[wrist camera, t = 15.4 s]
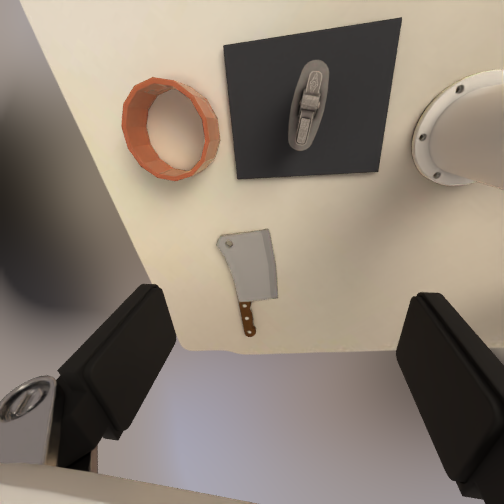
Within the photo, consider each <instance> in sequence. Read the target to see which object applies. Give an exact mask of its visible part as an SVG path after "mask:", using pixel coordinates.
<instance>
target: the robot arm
mask: <svg viewBox="0 0 504 504" xmlns="http://www.w3.org/2000/svg"><path fill="white" fill-rule="evenodd" d="M456 88H457V89H458V90H457V92H456ZM420 135H421V136H422V137H421V139H419V137H420ZM412 155H413V160H414V163H415V165H416V167H417V169H418V170H419V171H420V173H421V174H422V175H424V176H425V177H426V178H427V179H429V180H431V181H433V182H436V183H439V184H442V185H448V186H462V185H467V184H472V183H475V182H480V183H483V184H486V185H490V186H493V187H496V188H499V189H503V190H504V70H489V71H484V72H480V73H476V74H473V75H470V76H468V77H465V78H463V79H461V80H459V81H457V82H455V83H454V84H452V85H451V86H450V87H448V88H447V89H445V90H444V91H443V92H442V93H441V94H439V95H438V96H437V97H436V98H435V99H434V100H433V101H432V103H431V104H430V105H429V106H428V107H427V108H426V110H425V112H424V113H423V115H422V116H421V118H420V120H419V122H418V124H417V126H416V129H415V132H414V136H413V140H412ZM434 174H435V175H434ZM433 175H434V176H433ZM175 342H176V333H175V330H174V326H173V323H172V320H171V317H170V313H169V310H168V307H167V304H166V300H165V297H164V294H163V291H162V289H161V288H159V287H158V285H156V284H142V285H140V286H139V287H138V288H137V289H136V290H135V291H134V292H133V293H132V294H131V295H130V296H129V297H128V298H127V299H126V300H125V301H124V303H122V305H120V307H119V308H118V309H117V310H116V311H115V312H114V313H113V314H112V315H111V316H110V317H109V318H108V319H107V320H106V321H105V322H104V323H103V324H102V325H101V326H100V327H99V328H98V329H97V330H96V331H95V332H94V334H92V335H91V336H90V338H89V339H88V340H87V341H86V342H85V343H84V344H83V345H82V346H81V347H80V348H79V349H78V350H77V351H76V352H75V353H74V354H73V355H72V356H71V357H70V358H69V359H68V360H67V361H66V362H65V363H64V364H63V365H62V366H61V367H60V368H59V369H58V372H59V374H60V377H59V378H58V379H57V380H55V379H54V378H53V377H51V376H39V377H36V378H33V379H31V380H28V381H27V382H25V383H23V384H21V385H19V386H18V387H16V388H15V389H14V390H12V391H11V392H10V393H9V394H7V395H6V396H5V397H4V398H3V399H2V400H1V401H0V504H257V503H252V502H246V501H241V500H236V499H231V498H226V497H220V496H215V495H210V494H205V493H199V492H194V491H189V490H184V489H178V488H173V487H167V486H162V485H157V484H151V483H146V482H141V481H135V480H130V479H124V478H119V477H114V476H109V475H103V474H98V450H97V449H98V446H97V445H98V443H99V441H100V440H101V438H102V437H103V438H105V439H112V440H119V438H120V436H121V434H122V433H123V431H124V430H126V429H128V428H129V426H130V425H131V423H132V421H133V419H134V417H135V416H136V414H137V412H138V410H139V408H140V407H141V405H142V403H143V401H144V399H145V398H146V396H147V394H148V392H149V390H150V388H151V387H152V385H153V383H154V381H155V379H156V378H157V376H158V374H159V372H160V370H161V368H162V367H163V365H164V363H165V361H166V359H167V357H168V356H169V354H170V352H171V350H172V348H173V347H174V345H175ZM396 356H397V361H398V364H399V366H400V368H401V370H402V372H403V375H404V377H405V380H406V382H407V384H408V387H409V389H410V391H411V393H412V396H413V398H414V400H415V402H416V405H417V407H418V409H419V412H420V414H421V416H422V419H423V421H424V423H425V426H426V428H427V430H428V432H429V435H430V437H431V439H432V442H433V444H434V446H435V449H436V451H437V453H438V455H439V457H440V460H441V462H442V464H443V467H444V469H445V471H446V473H447V475H448V477H449V478H450V479H451V480H453V481H456V483H457V485H458V487H459V490H460V492H461V494H462V496H465V497H471V498H477V499H483V500H484V502H485V504H504V365H503V364H502V363H501V362H500V361H499V359H498V358H497V357H496V356H495V355H494V354H493V353H492V351H491V350H490V349H489V348H488V347H487V346H486V344H485V343H484V342H483V341H482V340H481V339H480V338H479V336H478V335H477V334H476V333H475V332H474V331H473V330H472V328H471V327H470V326H469V325H468V324H467V323H466V322H465V320H464V319H463V318H462V317H461V316H460V315H459V313H458V312H457V311H456V310H455V309H454V308H453V307H452V305H451V304H450V303H449V302H448V301H447V300H446V299H445V297H444V296H443V295H442V294H440V293H425V292H420V293H418V294H417V296H414V297H412V298H411V301H410V304H409V308H408V311H407V315H406V318H405V322H404V325H403V329H402V332H401V336H400V339H399V343H398V346H397V350H396Z"/></svg>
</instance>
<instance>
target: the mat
mask: <svg viewBox="0 0 504 504" xmlns="http://www.w3.org/2000/svg"><path fill="white" fill-rule="evenodd" d="M401 22H402V18H395V19H389V20H382V21H376V22H370V23H363V24H357V25H351V26H344V27H338V28H331V29H325V30H319V31H312V32H306V33H300V34H293V35H287V36H280V37H274V38H268V39H261V40H255V41H249V42H242V43H236V44H229V45H224V46H223V47H224V57H225V66H226V76H227V85H228V95H229V104H230V114H231V123H232V133H233V142H234V152H235V161H236V171H237V179H254V178H272V177H291V176H310V175H329V174H348V173H367V172H378V169H379V163H380V156H381V150H382V144H383V137H384V131H385V124H386V118H387V112H388V105H389V99H390V92H391V86H392V79H393V73H394V67H395V60H396V54H397V47H398V41H399V35H400V28H401ZM312 60H321V61H323V62H324V63H325V64H327V66H328V69H329V81H328V92H327V98H326V103H325V108H324V112H323V116H322V119H321V122H320V125H319V128H318V130H317V133H316V135H315V137H314V140H313V142H312V144H311V145H310V147H309V148H307V149H306V150H303V151H297V150H295V149H293V148H292V147H291V146H290V144H289V141H288V131H289V118H290V111H291V105H292V101H293V97H294V93H295V89H296V86H297V83H298V81H299V78H300V75H301V73H302V70H303V68H304V66H305V65H306V64H307V63H308V62H310V61H312Z"/></svg>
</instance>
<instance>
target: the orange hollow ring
mask: <svg viewBox="0 0 504 504" xmlns="http://www.w3.org/2000/svg"><path fill="white" fill-rule="evenodd" d="M171 89H176V90H179V91H180V92H181V93H183V94H184V95H185V96H187V97H188V98H189V99H190V100H191V101H192V103H193V105H194V106H195V108H196V110H197V112H198V113H199V115H200V117H201V119H202V123H203V129H204V136H205V144H204V148H203V152H202V156H201V159H200V161H199V162H198V163H197V164H196V165H195V166H194V167H193V169H192V170H190V171H185V170H180V169H175V168H172V167H171V166H170V165H168V164H167V163H165V162H164V161H162V160H161V159H160V158H159V156H158V155H157V153H156V152H155V150H154V149H153V147H152V146H151V144H150V140H149V136H148V132H147V128H146V124H147V117H148V109H149V108H150V106H151V105H152V103H153V102H154V100H155V99H156V97H157V96H158V95H160V94H162V93H164V92H166V91H168V90H171ZM122 130H123V133H124V137H125V140H126V143H127V147H128V149H129V151H130V152H131V153H132V155H133V156H134V158H135V159H136V160H137V162H138V163H139V165H140V166H141V167H142V168H144V169H145V170H147V171H148V172H150V173H151V174H153V175H154V176H156V177H157V178H161V179H166V180H172V181H178V180H181V179H184V178H187V177H190V176H193V175H195V174H197V173H199V172H201V171H203V170H204V169H205V168H206V167H207V166H208V165H209V164H210V163H211V162H212V161H213V160H214V158H215V157H216V153H217V149H218V146H219V142H220V134H219V126H218V119H217V117H216V115H215V113H214V111H213V109H212V108H211V106H210V104H209V102H208V100H207V99H206V98H205V97H203V96H202V95H201V94H199V93H198V92H197V91H195V90H194V89H193V88H191V87H190V86H187V85H185V84H182V83H179V82H177V81H174V80H168V79H161V78H155V77H152V78H150V79H148V80H146V81H143V82H141V83H139V84H137V85H135V86H134V87H133V89H132V90H131V92H130V94H129V95H128V97H127V99H126V100H125V102H124V104H123V114H122Z"/></svg>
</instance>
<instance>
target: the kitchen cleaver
mask: <svg viewBox="0 0 504 504" xmlns="http://www.w3.org/2000/svg"><path fill="white" fill-rule="evenodd" d="M226 241H231V242H232V243H233V245H232V246H228V245H227V244H226ZM216 245H217V246H218V248H219V249H220V251H221V252H222V254H223V255H224V257H225V259H226V261H227V264H228V266H229V268H230V270H231V273H232V276H233V279H234V283H235V287H236V291H237V295H238V300H239V306H240V311H241V316H242V321H243V327H244V332H245V335H246V336H248V337H252V336H254V335H255V334H256V329H255V327H254V326H253V323H252V322H253V318H252V312H251V310H250V306H251V302H252V301H259V300H266V299H276V298H278V292H277V277H276V264H275V258H274V253H273V247H272V242H271V237H270V232H269V230H268V229H264V230H259V231H251V232H243V233H235V234H227V235H221V236H220V238H219V240H218V242H217V244H216Z"/></svg>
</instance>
